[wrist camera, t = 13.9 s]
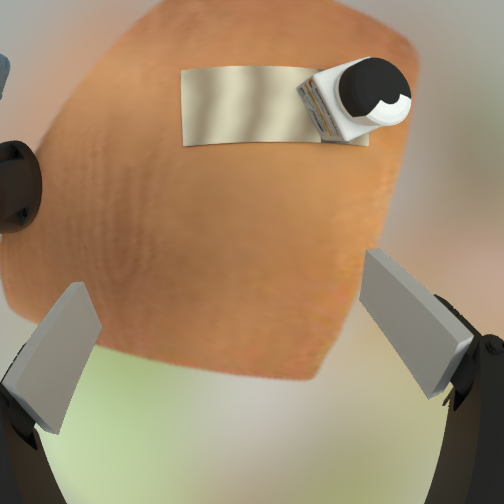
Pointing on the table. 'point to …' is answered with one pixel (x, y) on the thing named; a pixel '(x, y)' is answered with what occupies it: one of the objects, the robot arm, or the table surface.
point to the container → (356, 98)
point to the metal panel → (248, 106)
